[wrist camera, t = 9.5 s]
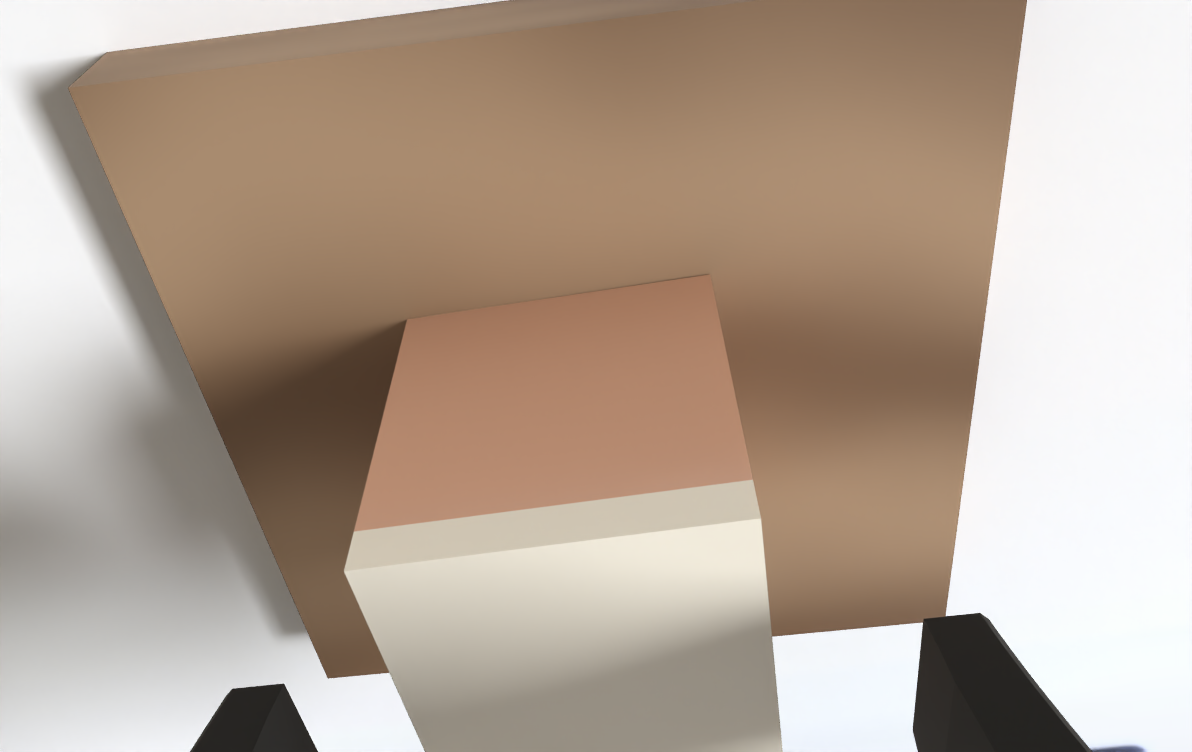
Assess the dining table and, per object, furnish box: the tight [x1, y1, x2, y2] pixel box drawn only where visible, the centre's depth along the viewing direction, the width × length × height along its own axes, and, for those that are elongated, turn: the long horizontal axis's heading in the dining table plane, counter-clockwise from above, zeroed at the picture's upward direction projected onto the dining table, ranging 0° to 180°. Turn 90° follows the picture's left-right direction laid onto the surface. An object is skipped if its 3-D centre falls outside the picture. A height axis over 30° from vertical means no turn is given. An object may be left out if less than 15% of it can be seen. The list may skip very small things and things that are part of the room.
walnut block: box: [68, 0, 1027, 678], centre depth 17 cm, size 12×12×2 cm
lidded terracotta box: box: [344, 274, 783, 752], centre depth 14 cm, size 4×4×5 cm
